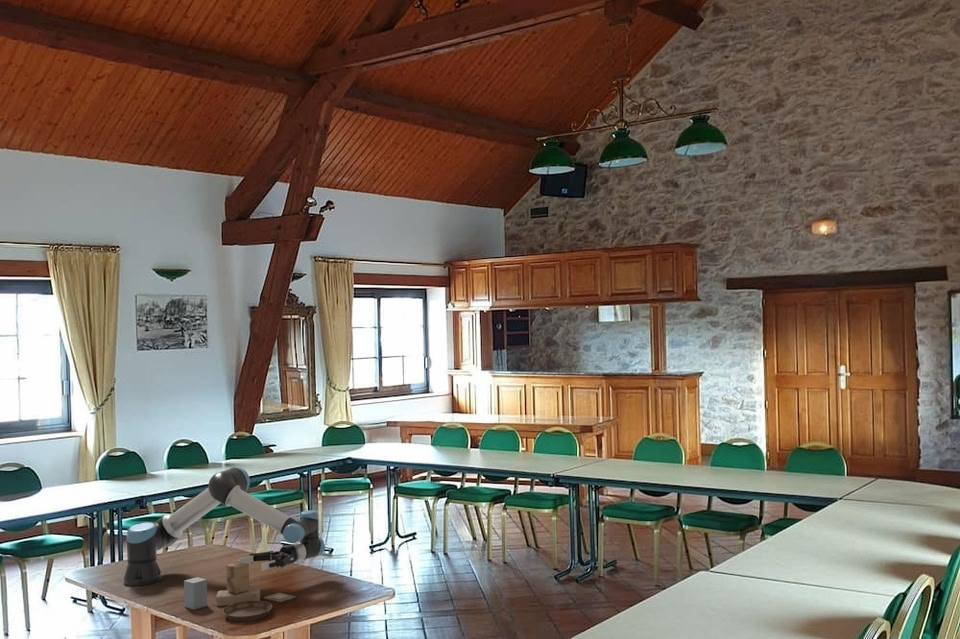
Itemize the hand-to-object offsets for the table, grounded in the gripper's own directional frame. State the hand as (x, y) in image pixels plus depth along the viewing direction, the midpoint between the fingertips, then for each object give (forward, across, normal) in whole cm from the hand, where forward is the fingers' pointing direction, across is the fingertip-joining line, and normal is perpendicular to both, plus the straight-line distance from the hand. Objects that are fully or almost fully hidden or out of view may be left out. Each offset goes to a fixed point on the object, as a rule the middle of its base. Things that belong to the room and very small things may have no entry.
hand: (250, 564), depth 361 cm
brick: (+6, 0, -14) cm, 15 cm away
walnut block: (+6, 0, -9) cm, 10 cm away
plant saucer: (+15, -18, -13) cm, 27 cm away
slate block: (+19, +8, -13) cm, 25 cm away
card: (-6, -10, -13) cm, 18 cm away
